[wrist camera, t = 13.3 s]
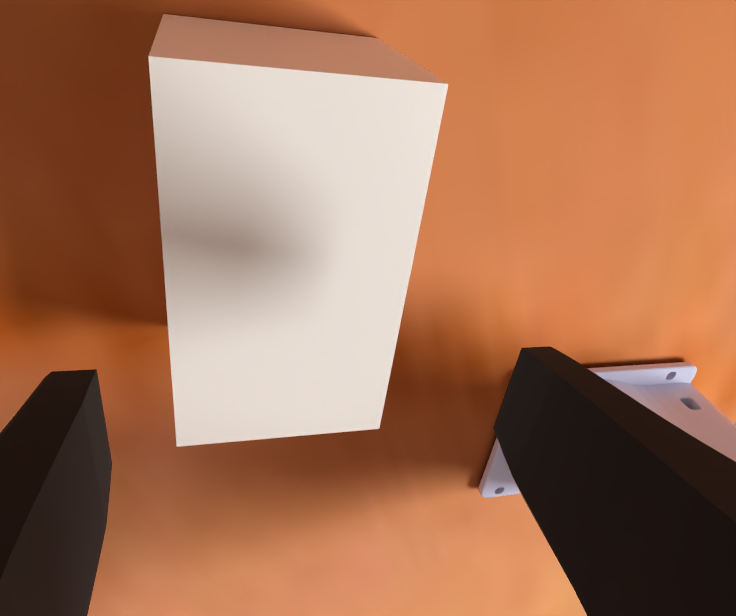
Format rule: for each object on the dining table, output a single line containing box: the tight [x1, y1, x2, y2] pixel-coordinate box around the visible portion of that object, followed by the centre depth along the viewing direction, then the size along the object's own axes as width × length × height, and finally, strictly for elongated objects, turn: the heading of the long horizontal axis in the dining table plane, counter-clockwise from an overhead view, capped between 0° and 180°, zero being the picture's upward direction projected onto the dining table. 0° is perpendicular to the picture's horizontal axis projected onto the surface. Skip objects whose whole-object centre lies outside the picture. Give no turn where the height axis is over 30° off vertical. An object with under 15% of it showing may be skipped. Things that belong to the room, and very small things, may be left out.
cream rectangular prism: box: [148, 14, 448, 447], centre depth 15 cm, size 6×10×5 cm, turn 171°
